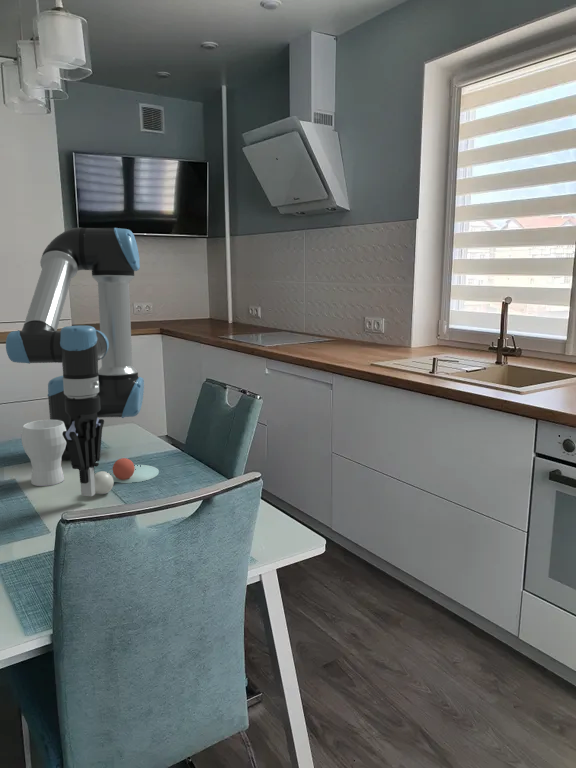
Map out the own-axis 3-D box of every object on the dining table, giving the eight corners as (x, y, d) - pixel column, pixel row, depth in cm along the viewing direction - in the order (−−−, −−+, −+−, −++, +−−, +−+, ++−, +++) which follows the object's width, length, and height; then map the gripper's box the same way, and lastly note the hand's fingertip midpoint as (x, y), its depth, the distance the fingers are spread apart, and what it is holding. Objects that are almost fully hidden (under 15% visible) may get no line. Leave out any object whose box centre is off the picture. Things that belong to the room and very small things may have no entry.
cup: (25, 477, 152) (20, 421, 149) (68, 471, 156) (65, 417, 153) (25, 491, 142) (20, 431, 140) (71, 485, 146) (67, 427, 144)
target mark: (95, 473, 155) (94, 472, 155) (142, 462, 164) (142, 461, 164) (120, 487, 145) (120, 486, 145) (169, 474, 154) (168, 473, 154)
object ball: (104, 465, 149) (116, 463, 154) (113, 484, 148) (125, 482, 153) (122, 455, 148) (132, 453, 153) (131, 474, 147) (141, 472, 152)
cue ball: (85, 470, 140) (93, 486, 144) (87, 486, 136) (94, 502, 140) (108, 463, 141) (115, 479, 145) (110, 479, 137) (117, 494, 141)
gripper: (79, 402, 124) (86, 506, 128) (112, 390, 136) (117, 486, 141) (49, 400, 126) (56, 503, 130) (84, 388, 138) (90, 483, 142)
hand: (88, 494), depth 135 cm, fingers closed
